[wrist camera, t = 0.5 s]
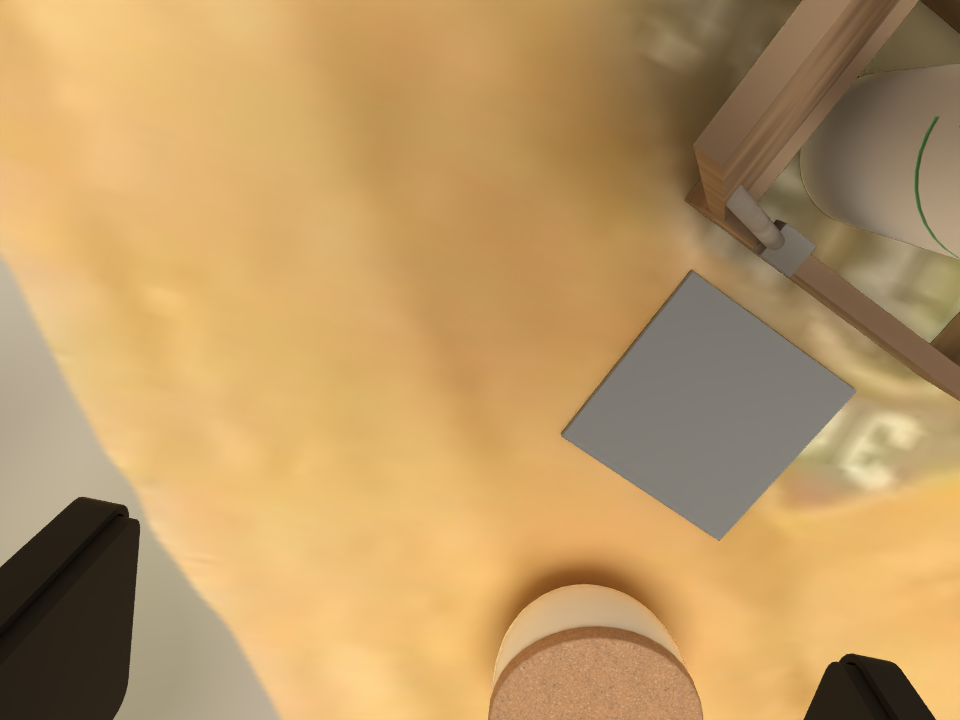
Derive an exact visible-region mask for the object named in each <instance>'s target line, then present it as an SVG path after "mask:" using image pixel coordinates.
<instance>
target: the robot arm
mask: <svg viewBox="0 0 960 720" xmlns="http://www.w3.org/2000/svg"><path fill="white" fill-rule="evenodd" d="M139 536H140V524H139V521H138V520H137V519H132V518H129V512H128V509H127V507H126V506H124V505H121V504H116V503H110V502H106V501H101V500H96V499H91V498H86V497H79V498H77V499H76V500H74V501H73V502H72V503H71V504H70V505H69V506H67V507H66V508H65V509H64V510H63V511H62V512H61V513H60V514H59V515H57V516H56V517H55V518H54V519H53V520H52V521H51V522H50V523H49V524H48V525H46V527H44V528H43V529H42V530H41V531H40V532H39V533H38V534H36V536H34V537H33V538H32V539H31V540H30V541H29V542H28V543H27V544H25V545H24V546H23V547H22V548H21V549H20V550H19V551H18V552H17V553H16V554H14V555H13V556H12V557H11V558H10V559H9V560H8V561H7V562H6V563H4V564H3V565H2V566H1V567H0V720H113V718H114V717H115V715H116V714H117V712H118V710H119V708H120V706H121V704H122V702H123V699H124V696H125V693H126V690H127V685H128V678H129V665H130V652H131V651H130V650H131V639H132V626H133V614H134V601H135V587H136V574H137V562H138V550H139ZM804 720H936V719H935V718H934V716H933V715H932V713H931V712H930V710H929V709H928V707H927V706H926V705H925V703H924V702H923V700H922V699H921V697H920V696H919V695H918V693H917V692H916V690H915V689H914V687H913V686H912V685H911V683H910V682H909V680H908V679H907V677H906V676H905V675H904V673H903V672H902V670H901V669H900V668H899V667H898V666H897V665H896V664H895V663H892V662H890V661H886V660H881V659H876V658H871V657H866V656H861V655H856V654H846V655H845V656H844V657H842V658H841V660H840V661H839V662H832V663H831V664H830V665H828V667H827V669H826V670H825V673H824V675H823V677H822V679H821V682H820V684H819V686H818V689H817V691H816V693H815V695H814V698H813V700H812V702H811V704H810V707H809V709H808V711H807V713H806V716H805V718H804Z"/></svg>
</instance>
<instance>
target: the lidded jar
mask: <svg viewBox="0 0 960 720" xmlns="http://www.w3.org/2000/svg"><path fill="white" fill-rule="evenodd" d="M488 720H703V712H702V707H701V702H700V698H699V696H698V693H697V690H696V688H695V685H694V682H693V680H692V678H691V676H690V675H689V673H688V671H687V668H686V666H685V663H684V661H683V658H682V656H681V653H680V651H679V649H678V648H677V646H676V644H675V642H674V640H673V639H672V637H671V636H670V634H669V632H668V631H667V629H666V628H665V627H664V625H663V624H662V623H661V621H660V620H659V619H658V618H657V617H656V616H655V615H654V614H653V613H652V612H651V611H650V610H649V609H648V608H646V607H645V606H644V605H643V604H641V603H640V602H639V601H638V600H636V599H634V598H633V597H631V596H629V595H627V594H626V593H623V592H620V591H618V590H615V589H613V588H609V587H605V586H601V585H592V584H576V585H570V586H564V587H561V588H558V589H555V590H552V591H550V592H548V593H546V594H544V595H542V596H540V597H539V598H537V599H536V600H534V601H533V602H531V603H530V604H529V605H528V606H527V607H525V608H524V609H523V610H522V611H521V612H520V613H519V615H518V616H517V617H516V619H515V620H514V621H513V623H512V624H511V625H510V627H509V628H508V630H507V632H506V634H505V636H504V638H503V641H502V643H501V646H500V649H499V652H498V655H497V658H496V663H495V667H494V673H493V681H492V693H491V698H490V706H489V716H488Z"/></svg>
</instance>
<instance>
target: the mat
mask: <svg viewBox="0 0 960 720" xmlns="http://www.w3.org/2000/svg"><path fill="white" fill-rule="evenodd" d="M855 392H856V390H855V389H853V388H852V387H851V386H849V385H848V384H847V383H845V382H844V381H842V380H841V379H840V378H838V377H837V376H836V375H834V374H833V373H832V372H830V371H829V370H827V369H826V368H825V367H823V366H822V365H821V364H819V363H818V362H816V361H815V360H814V359H812V358H811V357H810V356H808V355H807V354H805V353H804V352H803V351H801V350H800V349H799V348H797V347H796V346H794V345H793V344H792V343H790V342H789V341H788V340H786V339H785V338H784V337H782V336H781V335H779V334H778V333H777V332H775V331H774V330H773V329H771V328H770V327H768V326H767V325H766V324H764V323H763V322H762V321H760V320H759V319H757V318H756V317H755V316H753V315H752V314H751V313H749V312H748V311H746V310H745V309H744V308H742V307H741V306H740V305H738V304H737V303H736V302H734V301H733V300H731V299H730V298H729V297H727V296H726V295H725V294H723V293H722V292H720V291H719V290H718V289H716V288H715V287H714V286H712V285H711V284H709V283H708V282H707V281H705V280H704V279H703V278H701V277H700V276H698V275H697V274H696V273H694V272H693V271H692V270H691V271H690V272H689V274H688V275H687V276H686V277H685V279H684V280H683V281H682V282H681V284H680V285H679V286H678V287H677V289H676V290H675V291H674V292H673V294H672V295H671V296H670V297H669V299H668V300H667V301H666V302H665V304H664V305H663V306H662V307H661V309H660V310H659V311H658V312H657V314H656V315H655V316H654V318H653V319H652V320H651V321H650V323H649V324H648V325H647V326H646V328H645V329H644V330H643V331H642V333H641V334H640V335H639V336H638V338H637V339H636V340H635V341H634V343H633V344H632V345H631V346H630V348H629V349H628V350H627V351H626V353H625V354H624V355H623V356H622V358H621V359H620V360H619V361H618V363H617V364H616V365H615V366H614V368H613V369H612V370H611V371H610V373H609V374H608V375H607V377H606V378H605V379H604V380H603V382H602V383H601V384H600V385H599V387H598V388H597V389H596V390H595V392H594V393H593V394H592V395H591V397H590V398H589V399H588V400H587V402H586V403H585V404H584V405H583V407H582V408H581V409H580V410H579V412H578V413H577V414H576V415H575V417H574V418H573V419H572V420H571V422H570V423H569V424H568V425H567V427H566V428H565V429H564V430H563V432H562V433H561V435H562V437H563V438H565V439H566V440H568V441H569V442H571V443H572V444H574V445H575V446H577V447H578V448H580V449H581V450H583V451H584V452H586V453H587V454H589V455H590V456H592V457H593V458H595V459H597V460H598V461H600V462H601V463H603V464H604V465H606V466H607V467H609V468H610V469H612V470H613V471H615V472H616V473H618V474H619V475H621V476H622V477H624V478H625V479H627V480H628V481H630V482H631V483H633V484H634V485H636V486H637V487H639V488H640V489H642V490H643V491H645V492H646V493H648V494H649V495H651V496H652V497H654V498H655V499H657V500H658V501H660V502H661V503H663V504H664V505H666V506H667V507H669V508H670V509H672V510H673V511H675V512H676V513H678V514H679V515H681V516H682V517H684V518H685V519H687V520H688V521H690V522H691V523H693V524H694V525H696V526H697V527H699V528H700V529H702V530H703V531H705V532H706V533H708V534H709V535H711V536H712V537H714V538H715V539H717V540H718V541H720V540H721V539H722V538H723V536H724V535H725V534H726V533H727V532H728V531H729V530H730V529H731V528H732V527H733V526H734V524H735V523H736V522H737V521H738V520H739V519H740V518H741V517H742V516H743V515H744V514H745V512H746V511H747V510H748V509H749V508H750V507H751V506H752V505H753V504H754V503H755V502H756V500H757V499H758V498H759V497H760V496H761V495H762V494H763V493H764V492H765V491H766V490H767V488H768V487H769V486H770V485H771V484H772V483H773V482H774V481H775V480H776V479H777V478H778V476H779V475H780V474H781V473H782V472H783V471H784V470H785V469H786V468H787V467H788V466H789V464H790V463H791V462H792V461H793V460H794V459H795V458H796V457H797V456H798V455H799V454H800V452H801V451H802V450H803V449H804V448H805V447H806V446H807V445H808V444H809V443H810V442H811V440H812V439H813V438H814V437H815V436H816V435H817V434H818V433H819V432H820V431H821V430H822V428H823V427H824V426H825V425H826V424H827V423H828V422H829V421H830V420H831V419H832V418H833V416H834V415H835V414H836V413H837V412H838V411H839V410H840V409H841V408H842V407H843V406H844V404H845V403H846V402H847V401H848V400H849V399H850V398H851V397H852V396H853V395H854V394H855Z"/></svg>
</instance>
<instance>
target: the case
mask: <svg viewBox="0 0 960 720" xmlns="http://www.w3.org/2000/svg"><path fill="white" fill-rule="evenodd" d="M918 1H919V0H802V1H801V3H800V4H799V5H798V7H797V8H796V9H795V11H794V12H793V13H792V15H791V16H790V17H789V18H788V20H787V21H786V22H785V24H784V25H783V26H782V28H781V29H780V30H779V32H778V33H777V34H776V36H775V37H774V38H773V40H772V41H771V42H770V44H769V45H768V46H767V48H766V49H765V50H764V52H763V53H762V54H761V56H760V57H759V58H758V59H757V61H756V62H755V63H754V65H753V66H752V67H751V69H750V70H749V71H748V73H747V74H746V75H745V77H744V78H743V79H742V81H741V82H740V83H739V85H738V86H737V87H736V89H735V90H734V91H733V93H732V94H731V95H730V97H729V98H728V99H727V100H726V102H725V103H724V104H723V106H722V107H721V108H720V110H719V111H718V112H717V114H716V115H715V116H714V118H713V119H712V120H711V122H710V123H709V124H708V126H707V127H706V128H705V130H704V131H703V132H702V134H701V135H700V136H699V138H698V139H697V140H696V141H695V143H694V144H693V148H694V152H695V156H696V160H697V164H698V168H699V172H700V176H701V179H700V181H699V182H698V183H697V185H696V186H695V187H694V188H693V190H692V191H691V192H690V194H689V195H688V196H687V197H686V199H685V201H686V202H687V203H689V204H690V205H691V206H693V207H694V208H695V209H697V210H698V211H699V212H701V213H702V214H703V215H705V216H706V217H707V218H709V219H710V220H711V221H713V222H714V223H715V224H717V225H718V226H719V227H721V228H722V229H724V230H725V231H726V232H728V233H729V234H730V235H732V236H733V237H734V238H736V239H737V240H738V241H740V242H741V243H742V244H744V245H745V246H746V247H748V248H749V249H750V250H751V251H752V252H754V253H755V254H756V255H758V256H759V257H760V258H762V259H763V260H764V261H766V262H767V263H768V264H770V265H771V266H772V267H774V268H775V269H777V270H778V271H779V272H781V273H783V274H784V275H785V276H787V277H788V278H789V279H791V280H792V281H793V282H795V283H796V284H797V285H799V286H800V287H801V288H803V289H804V290H805V291H807V292H808V293H809V294H811V295H812V296H813V297H815V298H816V299H817V300H819V301H820V302H821V303H823V304H824V305H825V306H827V307H828V308H829V309H831V310H832V311H833V312H835V313H836V314H837V315H839V316H840V317H842V318H843V319H844V320H846V321H847V322H848V323H850V324H851V325H852V326H854V327H855V328H856V329H858V330H859V331H860V332H862V333H863V334H864V335H866V336H867V337H868V338H870V339H871V340H872V341H874V342H875V343H876V344H878V345H879V346H880V347H882V348H883V349H884V350H886V351H887V352H888V353H890V354H891V355H892V356H894V357H895V358H896V359H898V360H899V361H900V362H902V363H903V364H905V365H906V366H907V367H909V368H910V369H911V370H913V371H914V372H915V373H917V374H918V375H919V376H921V377H922V378H923V379H925V380H927V381H928V382H930V383H931V384H933V385H935V386H936V387H938V388H939V389H941V390H943V391H944V392H946V393H948V394H949V395H951V396H952V397H954V398H956V399H957V400H959V401H960V312H959V314H958V315H957V316H956V317H955V318H954V319H953V320H952V321H951V322H950V323H949V324H948V325H947V326H946V328H945V329H944V330H943V331H942V332H941V333H940V334H939V335H938V336H937V337H936V338H935V339H934V340H933V342H932V343H931V344H929V343H927V342H926V341H925V340H923V339H922V338H921V337H919V336H918V335H917V334H915V333H914V332H913V331H911V330H910V329H909V328H907V327H906V326H905V325H903V324H902V323H901V322H900V321H898V320H897V319H896V318H894V317H893V316H892V315H890V314H889V313H888V312H886V311H885V310H884V309H882V308H881V307H880V306H878V305H877V304H876V303H874V302H873V301H872V300H870V299H869V298H868V297H866V296H865V295H864V294H863V293H861V292H860V291H859V290H857V289H856V288H855V287H853V286H852V285H851V284H849V283H848V282H847V281H845V280H844V279H843V278H841V277H840V276H839V275H837V274H836V273H835V272H833V271H832V270H831V269H829V268H828V267H827V266H825V265H824V264H823V263H822V262H820V261H819V260H818V259H816V258H815V257H814V256H812V255H811V254H810V253H811V252H812V251H813V250H814V249H815V247H816V245H815V244H813V243H812V242H811V241H809V240H808V239H807V238H805V237H804V236H803V235H801V234H800V233H799V232H797V231H796V230H795V229H794V228H792V227H791V226H790V225H788V224H787V223H784V222H782V221H779V220H776V221H775V222H774V223H773V222H772V221H771V220H770V218H769V217H768V216H767V215H766V214H765V212H764V211H763V210H762V209H761V208H760V206H759V205H758V204H757V202H758V201H759V199H760V198H761V197H762V196H763V194H764V193H765V192H766V191H767V189H768V188H769V187H770V186H771V184H772V183H773V182H774V181H775V179H776V178H777V177H778V176H779V174H780V173H781V172H782V171H783V169H784V168H785V167H786V166H787V164H788V163H789V162H790V161H791V159H792V158H793V157H794V156H795V154H796V153H797V152H798V151H799V149H800V148H801V147H802V146H803V144H804V143H805V142H806V141H807V139H808V138H809V137H810V136H811V134H812V133H813V132H814V131H815V129H816V128H817V127H818V126H819V124H820V123H821V122H822V121H823V119H824V118H825V117H826V116H827V114H828V113H829V112H830V111H831V109H832V108H833V107H834V106H835V104H836V103H837V102H838V101H839V99H840V98H841V97H842V96H843V95H844V93H845V92H846V91H847V90H848V88H849V87H850V86H851V85H852V83H853V82H854V81H855V80H856V78H857V77H858V76H859V75H860V73H861V72H862V71H863V70H864V68H865V67H866V66H867V65H868V63H869V62H870V61H871V60H872V58H873V57H874V56H875V55H876V53H877V52H878V51H879V50H880V48H881V47H882V46H883V45H884V43H885V42H886V41H887V40H888V38H889V37H890V36H891V35H892V33H893V32H894V31H895V30H896V28H897V27H898V26H899V25H900V23H901V22H902V21H903V20H904V18H905V17H906V16H907V15H908V13H909V12H910V11H911V10H912V8H913V7H914V6H915V5H916V3H917V2H918ZM921 1H923V2H924V3H925V4H926V5H927V6H929V7H930V8H931V9H932V10H933V11H934V12H936V13H937V14H938V15H939V16H940V17H942V18H943V19H944V20H945V21H946V22H947V23H949V24H950V25H951V26H952V27H953V28H954V29H956V30H957V31H958V32H959V33H960V0H921Z"/></svg>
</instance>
